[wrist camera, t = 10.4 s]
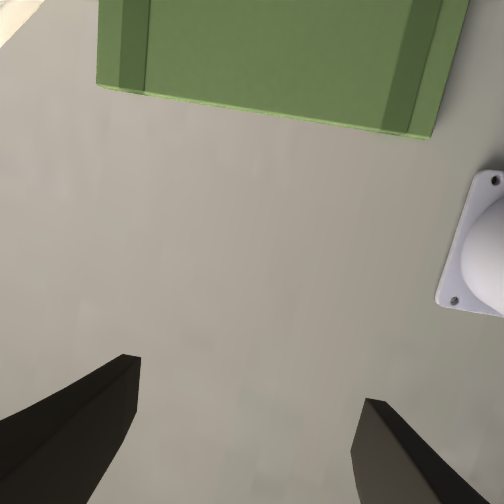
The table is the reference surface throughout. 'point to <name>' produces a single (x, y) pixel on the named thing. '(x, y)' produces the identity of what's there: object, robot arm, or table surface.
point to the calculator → (15, 16)
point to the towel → (288, 57)
